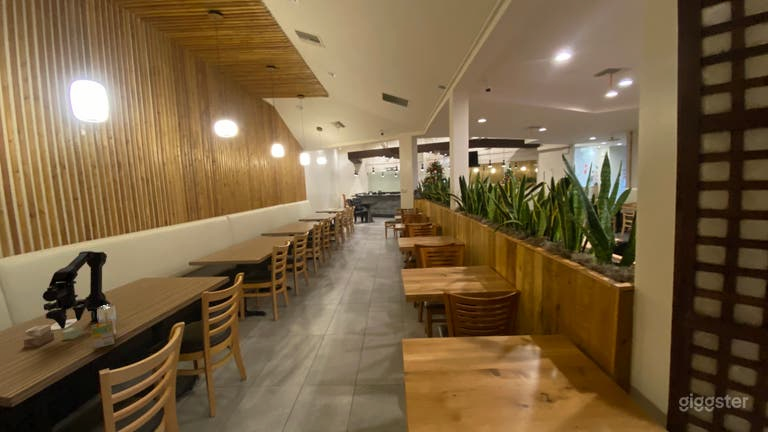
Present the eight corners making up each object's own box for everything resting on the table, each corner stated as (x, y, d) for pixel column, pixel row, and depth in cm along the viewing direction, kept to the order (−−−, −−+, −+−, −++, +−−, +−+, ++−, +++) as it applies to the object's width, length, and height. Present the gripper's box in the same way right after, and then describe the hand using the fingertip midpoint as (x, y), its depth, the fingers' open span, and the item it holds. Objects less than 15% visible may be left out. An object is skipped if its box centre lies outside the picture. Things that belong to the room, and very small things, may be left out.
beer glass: (97, 339, 152) (94, 310, 151) (102, 333, 158) (99, 306, 157) (115, 335, 155) (112, 307, 154) (119, 330, 161) (116, 303, 160)
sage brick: (81, 334, 159) (81, 327, 158) (73, 339, 154) (72, 331, 153) (71, 335, 158) (70, 328, 157) (62, 340, 153) (61, 332, 152)
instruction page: (81, 318, 180) (81, 317, 180) (65, 328, 166) (65, 327, 166) (59, 321, 176) (59, 320, 176) (41, 331, 163) (41, 331, 163)
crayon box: (115, 341, 149) (112, 318, 148) (114, 343, 147) (111, 320, 146) (94, 346, 145) (91, 323, 144) (93, 349, 142) (91, 325, 141)
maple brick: (51, 332, 153) (50, 324, 153) (40, 337, 148) (39, 329, 147) (36, 333, 152) (35, 326, 152) (25, 339, 146) (24, 331, 146)
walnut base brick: (54, 339, 153) (53, 332, 153) (39, 347, 146) (37, 339, 146) (40, 340, 153) (39, 332, 153) (24, 347, 146) (23, 339, 146)
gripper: (65, 290, 162) (68, 318, 163) (30, 302, 143) (34, 334, 145) (88, 288, 163) (92, 316, 165) (57, 300, 145) (61, 332, 147)
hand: (70, 324), depth 155 cm, fingers open, 9 cm apart
